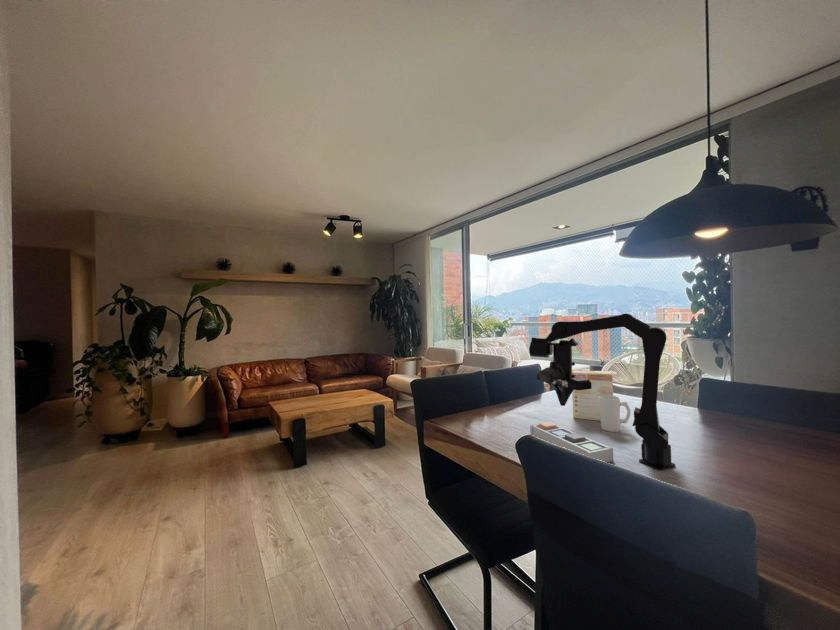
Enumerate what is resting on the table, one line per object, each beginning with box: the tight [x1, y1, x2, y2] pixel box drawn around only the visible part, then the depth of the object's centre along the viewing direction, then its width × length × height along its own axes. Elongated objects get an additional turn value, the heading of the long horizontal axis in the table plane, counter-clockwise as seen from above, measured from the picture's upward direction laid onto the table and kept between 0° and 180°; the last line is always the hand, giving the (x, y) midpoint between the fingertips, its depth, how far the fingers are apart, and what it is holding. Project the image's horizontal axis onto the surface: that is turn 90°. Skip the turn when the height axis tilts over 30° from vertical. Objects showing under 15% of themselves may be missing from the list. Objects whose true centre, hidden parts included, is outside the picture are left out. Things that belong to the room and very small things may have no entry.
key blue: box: [551, 430, 569, 437], centre depth 116 cm, size 4×4×2 cm
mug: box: [599, 395, 631, 433], centre depth 129 cm, size 10×7×12 cm, turn 60°
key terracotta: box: [538, 421, 557, 431], centre depth 123 cm, size 4×4×2 cm
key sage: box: [580, 443, 602, 451], centre depth 104 cm, size 4×4×2 cm
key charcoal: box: [565, 432, 586, 444], centre depth 110 cm, size 4×4×2 cm
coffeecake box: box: [571, 369, 614, 422], centre depth 143 cm, size 15×7×20 cm, turn 59°
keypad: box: [529, 421, 614, 463], centre depth 113 cm, size 27×9×4 cm, turn 19°
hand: (562, 405), depth 114 cm, fingers closed
